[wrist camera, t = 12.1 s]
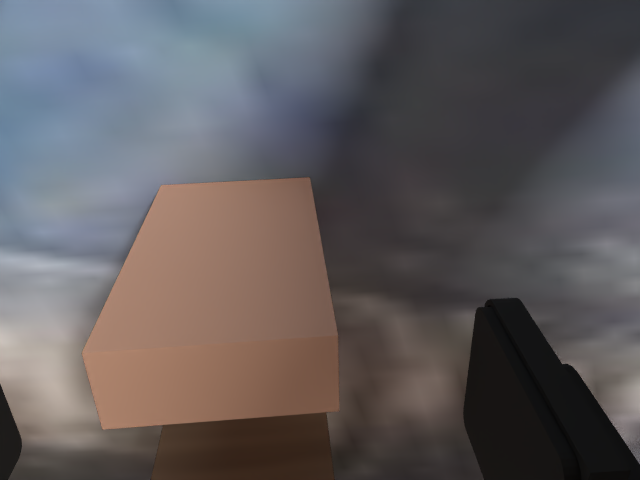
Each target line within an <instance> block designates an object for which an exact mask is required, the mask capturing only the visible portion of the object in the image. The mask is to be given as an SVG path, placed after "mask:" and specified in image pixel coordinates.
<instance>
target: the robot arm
mask: <svg viewBox="0 0 640 480" xmlns="http://www.w3.org/2000/svg"><path fill="white" fill-rule="evenodd" d="M463 414H464V423H465V428H466V431H467V434H468V436H469V439H470V442H471V445H472V447H473V450H474V453H475V455H476V458H477V461H478V464H479V466H480V469H481V472H482V474H483V477H484V480H640V464H639V463H638V461H637V460H636V458H635V457H634V455H633V454H632V452H631V451H630V449H629V448H628V446H627V445H626V443H625V442H624V441H623V439H622V438H621V436H620V435H619V433H618V432H617V430H616V429H615V427H614V426H613V424H612V423H611V421H610V420H609V418H608V417H607V415H606V414H605V412H604V411H603V409H602V408H601V406H600V405H599V403H598V402H597V400H596V399H595V398H594V396H593V395H592V393H591V392H590V390H589V389H588V387H587V386H586V384H585V383H584V381H583V380H582V378H581V377H580V375H579V374H578V372H577V371H576V370H575V369H574V368H573V367H572V366H570V365H568V364H562V363H561V362H560V360H559V359H558V357H557V356H556V354H555V353H554V351H553V349H552V348H551V346H550V345H549V343H548V342H547V340H546V339H545V337H544V336H543V334H542V333H541V331H540V329H539V328H538V326H537V325H536V323H535V322H534V320H533V319H532V317H531V316H530V314H529V313H528V311H527V309H526V308H525V306H524V305H523V303H522V302H521V301H520V300H519V299H518V298H506V299H489V300H487V301H486V303H485V307H479V308H477V310H476V314H475V321H474V329H473V337H472V346H471V354H470V362H469V370H468V378H467V386H466V394H465V402H464V412H463ZM21 447H22V441H21V437H20V434H19V431H18V429H17V426H16V423H15V421H14V418H13V416H12V413H11V411H10V408H9V405H8V403H7V400H6V398H5V395H4V392H3V390H2V387H1V385H0V480H8V478H9V476H10V474H11V473H12V471H13V469H14V467H15V465H16V463H17V461H18V459H19V456H20V453H21Z"/></svg>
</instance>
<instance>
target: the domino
mask: <svg viewBox="0 0 640 480" xmlns="http://www.w3.org/2000/svg"><path fill="white" fill-rule="evenodd" d="M151 480H334V472H333V464H332V455H331V447H330V439H329V431H328V423H327V415H326V412H323V413H310V414H298V415H285V416H272V417H259V418H246V419H233V420H220V421H207V422H194V423H181V424H168V425H163V428H162V432H161V437H160V441H159V446H158V450H157V454H156V459H155V463H154V468H153V472H152V476H151Z"/></svg>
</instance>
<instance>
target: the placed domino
mask: <svg viewBox="0 0 640 480" xmlns="http://www.w3.org/2000/svg"><path fill="white" fill-rule="evenodd" d="M82 356H83V360H84V364H85V367H86V371H87V375H88V379H89V382H90V386H91V390H92V393H93V397H94V401H95V404H96V408H97V412H98V415H99V419H100V423H101V427H102V430H104V429H117V428H130V427H142V426H155V425H168V424H181V423H194V422H207V421H220V420H233V419H246V418H259V417H272V416H285V415H298V414H310V413H323V412H336V411H339V357H338V332H337V326H336V320H335V315H334V309H333V304H332V298H331V292H330V287H329V281H328V276H327V270H326V264H325V259H324V253H323V248H322V242H321V237H320V231H319V225H318V220H317V214H316V209H315V203H314V197H313V192H312V186H311V181H310V177H305V178H286V179H267V180H249V181H230V182H211V183H192V184H174V185H161V187H160V189H159V191H158V193H157V195H156V197H155V199H154V201H153V204H152V206H151V208H150V210H149V212H148V214H147V216H146V218H145V220H144V223H143V225H142V227H141V229H140V231H139V233H138V235H137V237H136V239H135V242H134V244H133V246H132V248H131V250H130V252H129V254H128V256H127V258H126V261H125V263H124V265H123V267H122V269H121V271H120V273H119V275H118V277H117V280H116V282H115V284H114V286H113V288H112V290H111V292H110V294H109V296H108V299H107V301H106V303H105V305H104V307H103V309H102V311H101V313H100V315H99V318H98V320H97V322H96V324H95V326H94V328H93V330H92V332H91V334H90V337H89V339H88V341H87V343H86V345H85V347H84V349H83V351H82Z"/></svg>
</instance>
